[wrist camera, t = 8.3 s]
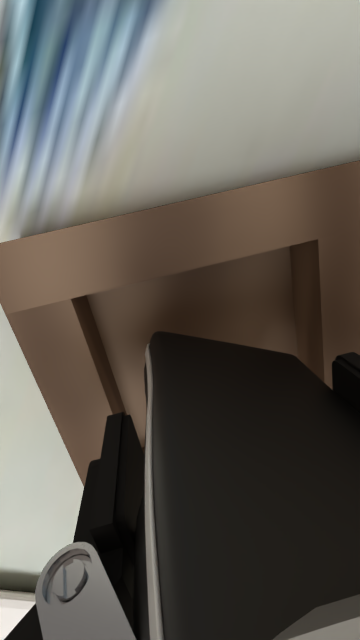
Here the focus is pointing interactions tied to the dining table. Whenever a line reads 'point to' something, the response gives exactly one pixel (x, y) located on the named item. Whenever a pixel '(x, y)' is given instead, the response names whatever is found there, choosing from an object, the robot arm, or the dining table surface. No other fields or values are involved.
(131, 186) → the dining table surface
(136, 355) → the wooden sorting tray
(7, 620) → the plate
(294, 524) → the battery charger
